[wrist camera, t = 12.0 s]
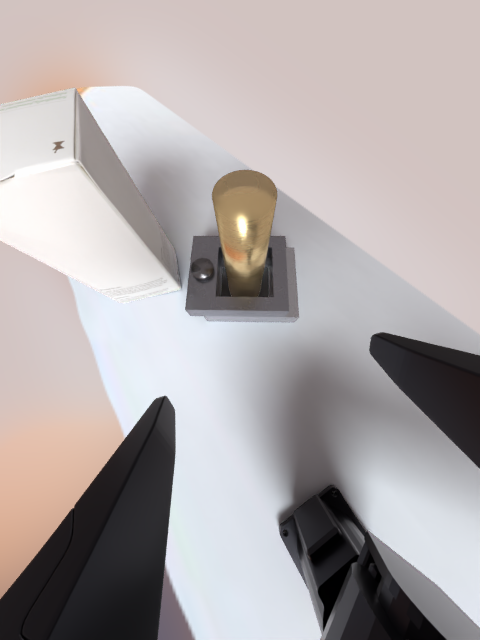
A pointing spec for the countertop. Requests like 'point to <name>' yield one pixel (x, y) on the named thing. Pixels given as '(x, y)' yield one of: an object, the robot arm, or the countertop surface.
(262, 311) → the gray open box
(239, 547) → the countertop surface
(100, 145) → the skincare box
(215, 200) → the brass pin
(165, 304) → the countertop surface
